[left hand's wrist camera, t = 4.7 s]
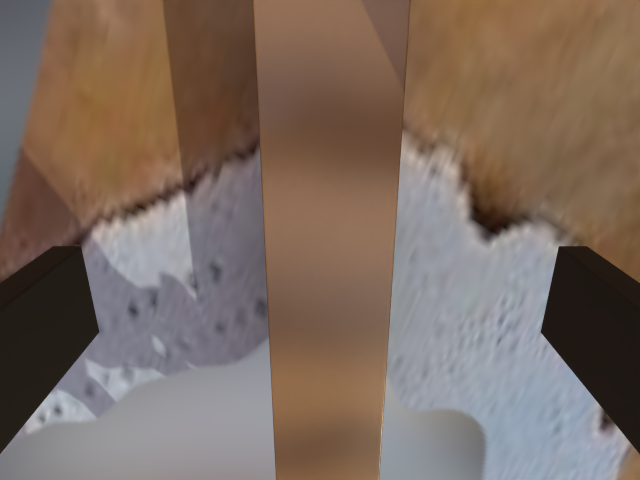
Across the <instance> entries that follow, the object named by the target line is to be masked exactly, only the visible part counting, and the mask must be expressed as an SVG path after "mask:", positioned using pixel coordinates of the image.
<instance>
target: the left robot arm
mask: <svg viewBox="0 0 640 480" xmlns="http://www.w3.org/2000/svg"><path fill="white" fill-rule="evenodd" d="M98 333H99V329H98V324H97V319H96V315H95V310H94V305H93V300H92V296H91V291H90V286H89V282H88V277H87V272H86V268H85V263H84V258H83V253H82V249H81V246H53V247H52V248H50V249H49V250H47V251H46V252H44V253H43V254H42V255H40V256H39V257H37V258H36V259H34V260H33V261H31V262H30V263H29V264H27V265H26V266H24V267H23V268H21V269H20V270H19V271H17V272H16V273H14V274H13V275H11V276H10V277H9V278H7V279H6V280H4V281H3V282H1V283H0V454H1V452H2V451H3V450H4V449H5V447H6V446H7V445H8V444H9V443H10V441H11V440H12V439H13V438H14V436H15V435H16V434H17V433H18V431H19V430H20V429H21V428H22V427H23V425H24V424H25V423H26V422H27V420H28V419H29V418H30V417H31V415H32V414H33V413H34V412H35V411H36V409H37V408H38V407H39V406H40V404H41V403H42V402H43V401H44V399H45V398H46V397H47V396H48V395H49V393H50V392H51V391H52V390H53V388H54V387H55V386H56V385H57V383H58V382H59V381H60V380H61V379H62V377H63V376H64V375H65V374H66V372H67V371H68V370H69V369H70V367H71V366H72V365H73V364H74V363H75V361H76V360H77V359H78V358H79V356H80V355H81V354H82V353H83V351H84V350H85V349H86V348H87V346H88V345H89V344H90V343H91V342H92V340H93V339H94V338H95V337H96V335H97V334H98ZM541 333H542V334H543V335H544V337H545V338H546V339H547V340H548V342H549V343H550V344H551V345H552V347H553V348H554V349H555V350H556V351H557V353H558V354H559V355H560V356H561V358H562V359H563V360H564V361H565V363H566V364H567V365H568V366H569V367H570V369H571V370H572V371H573V372H574V374H575V375H576V376H577V377H578V379H579V380H580V381H581V382H582V383H583V385H584V386H585V387H586V388H587V390H588V391H589V392H590V393H591V395H592V396H593V397H594V398H595V399H596V401H597V402H598V403H599V404H600V406H601V407H602V408H603V409H604V411H605V412H606V413H607V414H608V415H609V417H610V418H611V419H612V420H613V422H614V423H615V424H616V425H617V427H618V428H619V429H620V430H621V431H622V433H623V434H624V435H625V436H626V438H627V439H628V440H629V441H630V443H631V444H632V445H633V446H634V447H635V449H636V450H637V451H638V452H639V454H640V283H639V282H637V281H636V280H634V279H633V278H631V277H630V276H629V275H627V274H626V273H624V272H623V271H621V270H620V269H619V268H617V267H616V266H614V265H613V264H611V263H610V262H609V261H607V260H606V259H604V258H603V257H601V256H600V255H598V254H597V253H596V252H594V251H593V250H591V249H590V248H588V247H587V246H559V249H558V253H557V258H556V263H555V268H554V272H553V277H552V282H551V286H550V291H549V296H548V300H547V305H546V310H545V315H544V319H543V324H542V329H541Z"/></svg>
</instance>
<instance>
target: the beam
mask: <svg viewBox="0 0 640 480" xmlns="http://www.w3.org/2000/svg"><path fill="white" fill-rule="evenodd" d="M410 2H411V0H253V13H254V33H255V54H256V75H257V95H258V116H259V137H260V157H261V178H262V198H263V219H264V240H265V260H266V281H267V302H268V322H269V343H270V364H271V384H272V405H273V426H274V446H275V467H276V480H379V475H380V460H381V445H382V430H383V414H384V399H385V384H386V369H387V353H388V338H389V323H390V308H391V292H392V277H393V262H394V246H395V231H396V216H397V201H398V185H399V170H400V155H401V140H402V124H403V109H404V94H405V78H406V63H407V48H408V33H409V17H410Z"/></svg>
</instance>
